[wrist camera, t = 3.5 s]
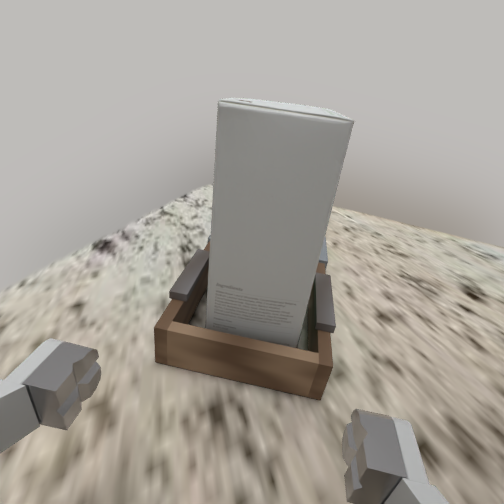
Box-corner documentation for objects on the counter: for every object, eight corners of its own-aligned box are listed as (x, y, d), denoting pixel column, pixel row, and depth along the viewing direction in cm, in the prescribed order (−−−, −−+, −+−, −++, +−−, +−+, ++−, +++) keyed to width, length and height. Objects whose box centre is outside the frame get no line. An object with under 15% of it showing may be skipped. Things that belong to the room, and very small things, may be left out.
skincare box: (291, 371, 21) (364, 121, 13) (195, 352, 21) (209, 97, 13) (293, 295, 28) (339, 107, 20) (221, 282, 28) (240, 91, 20)
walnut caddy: (318, 290, 29) (328, 258, 27) (323, 400, 19) (339, 360, 17) (205, 267, 30) (207, 234, 28) (152, 361, 20) (150, 318, 18)
